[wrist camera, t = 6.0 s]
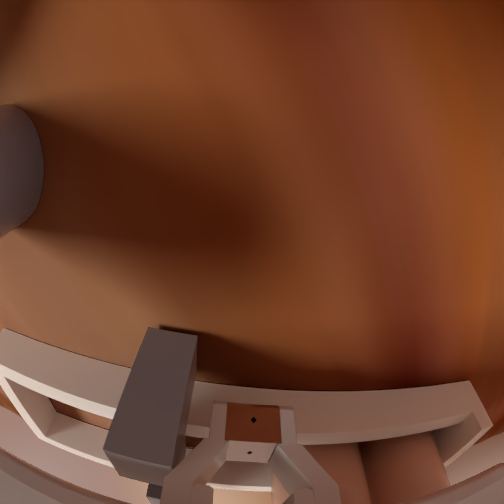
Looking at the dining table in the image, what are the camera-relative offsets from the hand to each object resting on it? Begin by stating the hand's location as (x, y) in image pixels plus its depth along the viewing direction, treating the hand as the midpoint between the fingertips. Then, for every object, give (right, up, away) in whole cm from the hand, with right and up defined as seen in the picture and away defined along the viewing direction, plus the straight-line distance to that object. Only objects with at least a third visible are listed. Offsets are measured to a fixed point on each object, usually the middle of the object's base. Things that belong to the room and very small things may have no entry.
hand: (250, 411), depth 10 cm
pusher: (-4, -2, +4) cm, 6 cm away
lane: (-1, -5, +5) cm, 7 cm away
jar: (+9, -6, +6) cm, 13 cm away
